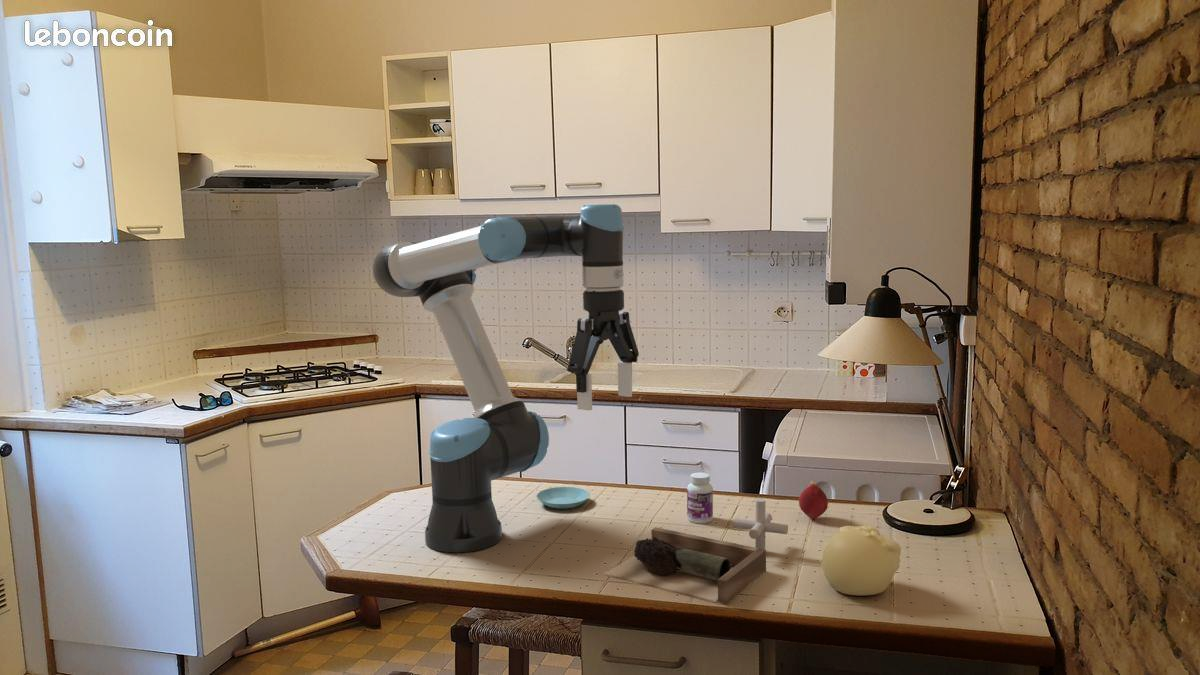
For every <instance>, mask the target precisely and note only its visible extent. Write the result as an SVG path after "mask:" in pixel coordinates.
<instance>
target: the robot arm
mask: <svg viewBox="0 0 1200 675" xmlns="http://www.w3.org/2000/svg"><path fill="white" fill-rule="evenodd" d="M622 213H623V212H622V208H621V207H620V205H618V204H611V203H610V204H608V203H607V204H606V203H605V204H604V203H603V204H583V205H582V206H581V208H580V215H545V216H526V217H525V216H524V217H523V216H519V217H518V216H517V217H516V216H513V217H510V216H499V217H493V218H489V219H487V220H485V221H484V223H483V224H482V225H479V226H475V227H471V228H467V229H464V230H461V231H456V232H454V233H453V232H452V233H450V234H446V235H443V236H439V237H436V238H431V239H428V240H423V241H410V242H409V241H403V242H402V241H401V242H395V243H392V244H389V245H386V246H384V247H382V248H381V250H379V252H377V254H376V255H375V258H374V260H373V264H372V274H373V279H374V280H375V283H376V284H377V286H378V287H379V288H380V289H381V290H382V291H383V292H385V293H387V294H388V295H391V296H394V297H398V298H413V297H415V298H416V297H419V299H420V302H421V303H422V306H423V308H424V310H425V311H427V312H430V313H433V315H434V316H435V318H436V319H435V320H436V321H437V324H438V326H439V328H440V331H441V333H442V335H443V338H444V340H445V343H446V346H447V348H448V350H449V353H450V354H451V358H452V359H453V363H454V364H455V367H456V369H457V371H458V374H459V377H460V379H461V381H462V383H463V386H464V388H465V391H466V393H467V395H468V398H469V400H470V403H471V405H472V407H473V410H474V416H473V417H465V418H462V419H457V418H456V419H453V420H450V421H447V422H444V423H442V424H441V425H438V426H437V427H435V429H434V430H433V431H432V432H431V434H430V437H429V441H430V442H429V451H428V453H429V454H428V455H429V457H430V460H429V461H430V472H431V473H430V475H431V496H432V497H431V498H432V499H431V500H432V505H431V508H430V513H429V516H428V521H427V522H428V523H427V525H426V527H425V530H424V537H425V538H424V540H425V546H427V547H429V548H430V549H432V550H434V551H435V550H436V551H438V552H444V553H445V552H446V553H467V552H474V551H480V550H484V549H487V548H489V547H492V546H495V545H496V544H497V543H499V542H500V541H501V540H502V538H503V528H502V527H503V526H502V522H501V521H500V520H499V519H498V514H497V511H496V507H495V504H494V502H493V497H492V496H493V495H492V494H493V492H492V481H494V480H497V479H501V478H504V477H508V476H510V475H513V474H516V473H520V472H522V473H524V472H526V471H528V470H529V469H531V468H533V467H536V466H538V465H540V463H541V462H543V460H544V459H545V458H546V455H547V452H548V447H549V445H550V434H549V430H548V426H547V424H546V421H545V420H544V418H543V417H542V416H541V415H539V414H537V413H536V412H534V411H530V410H527V407H526V405H525V402H524V400H523V399H521V398H518V397H515V395H513V393H512V390H511V388H510V386H509V384H508V381H507V378H506V377H505V375H504V372H503V369H502V368H501V365H500V363H499V361H498V358H497V356H496V353H495V351H494V349H493V347H492V344H491V342H490V339H489V338H488V334H487V332H486V329H485V327H484V326H483V323H482V321H481V319H480V317H479V313H478V311H477V310H476V306H475V304H474V302H473V300H472V296H473V294H474V292H475V286H474V284H475V281H476V278H477V274H476V273H475V272H476V271H477V269H480V268H484V267H487V266H493V265H498V264H502V263H507V262H511V261H515V260H516V261H517V260H525V259H537V258H540V259H541V258H552V257H553V258H554V257H581V262H582V264H581V265H582V268H581V269H582V272H581V273H582V275H581V276H582V279H581V280H582V287H583V288H584V289H585V290H584V292H582V303H583V304H582V305H583V306H582V307H583V310H584V311H585V312H588V318H580V317H579V318H578V319H577V322H576V334H575V337H574V342H573V344H572V345H573V346H572V349H571V354H570V357H569V362H568V366H567V372H569V373H570V374H574V375H575V381H576V382H575V384H576V385H575V386H576V387H575V390H576V393H577V396H576V398H577V399H576V400H577V402H576V403H577V410H584V411H592V410H593V390H592V389H593V385H592V382H593V381H592V379H593V378H592V373H589V372H590V369H591V367H592V365H593V363H594V360H595V357H596V355H597V353H598V350H599V347H600V345H602V344H604V342H605V341H607V340H608V341H610V343H611V345H612V347H613V349H614V351H615V353H616V355H617V356H618V358H619V360H620V361H618V362H617V389H618V390H617V394H618V396H619V397H625V398H626V397H627V398H630V397H631V398H632V397H633V363H637V362H638V357H639V355H640V353H639V350H638V345H637V343H636V339H635V336H634V333H633V329H632V326H631V323H630V313H629V311H623V310H624V308H625V292H624V290H623V289H621V288H623V287H624V275H625V274H624V260H623V259H624V258H623V257H624V255H623V254H624V250H623V249H624V248H623V246H624V224H623V214H622Z"/></svg>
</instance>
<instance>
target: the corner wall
mask: <svg viewBox="0 0 1200 675" xmlns="http://www.w3.org/2000/svg"><path fill="white" fill-rule="evenodd" d="M650 534H651V539H652V540H653V538H654V536H655V537H656V538H658V539H659V540H663V541H665V542H667V543H668V544H670V545H672V546H674V547H676V548H684V549H688V550H693V551H698V552H702V553H706V554H710V555H715V556H719V557H723V558H727V559H729V560H730V567H731V569H730V570H729V571H728V572H727V573H726V574H724V575H723V576H722V577H720V578H719V579H718V601H717V603H719V604H723V605H728V604H729V603H730V602H732V600H734V599H735V598H736V597H738V595H740V594H741V593H742V592H744V591H745V590H746V589H747V588H748V587H749V586H750V585H752V584H753V583H754V582H755V581H757V580H758V579H759V578H760V577H761V576H763V573H764V574H765V573H766V572H767V550H766V549H765V550H764V549H759V548H756V546H755V547H754V546H749V545H744V544H739V543H735V542H729V541H724V540H720V539H714V538H711V537H710V538H708V537H704V536H699V535H694V534H691V533H684V532H680V531H675V530H671V529H666V528H660V527H653V528H652V529H651V533H650ZM732 567H733V568H732Z"/></svg>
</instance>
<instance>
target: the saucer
mask: <svg viewBox="0 0 1200 675" xmlns="http://www.w3.org/2000/svg"><path fill="white" fill-rule="evenodd" d="M590 496H591V494H590V492H589V491H587V490H586V489H583V488H581V487H580V488H579V487H573V486H558V487H557V486H556V487H550V488H546V489H543V490H541V491H539V492H538V493H537V494H536V496H535V497H536V499H537V500H538V501H540V502H541V503H542V504H543V505H545V506H546V507H549V508H551V509H554V508H556V510H569V509H568V508H570V509H573V508H576V507H579V506H580V505H582V504H584V503H585V502H586V501H587V500H588V499H589V498H590Z"/></svg>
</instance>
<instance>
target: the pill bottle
mask: <svg viewBox="0 0 1200 675" xmlns="http://www.w3.org/2000/svg"><path fill="white" fill-rule="evenodd" d="M710 481H711V476H710V474H708V473H706V472H693V473H691V474H690V483H689V484H688V485H687V487H686V503H687V504H686V518H687V520H688V521H690V522H691V523H694V524H706V523H707V524H708V523H710V522H711V521H713V517H714V516H713V514H714V511H713V510H714V488H713V486H712V484H710Z"/></svg>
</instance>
